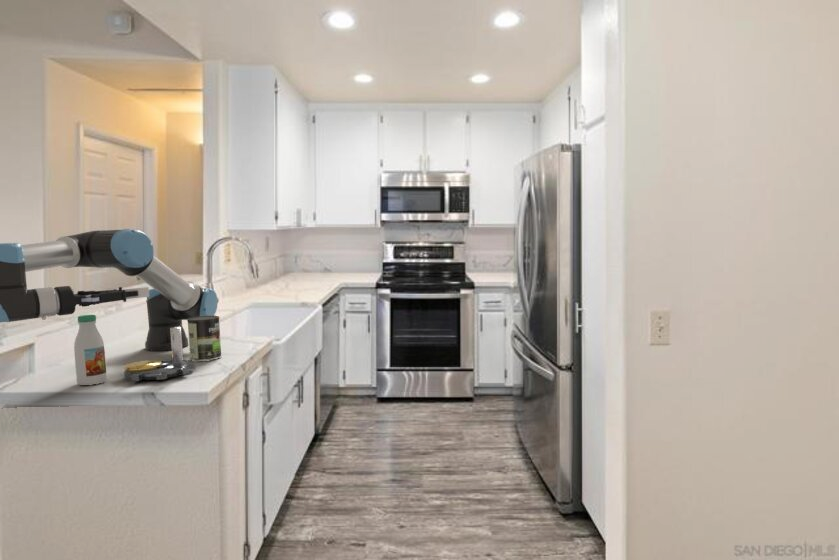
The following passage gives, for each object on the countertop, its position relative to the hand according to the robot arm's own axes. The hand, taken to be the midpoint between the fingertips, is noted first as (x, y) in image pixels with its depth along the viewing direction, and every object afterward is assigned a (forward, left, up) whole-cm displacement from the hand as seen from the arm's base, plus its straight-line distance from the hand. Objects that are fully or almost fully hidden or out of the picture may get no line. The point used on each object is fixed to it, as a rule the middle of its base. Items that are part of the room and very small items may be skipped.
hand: (147, 291), depth 171 cm
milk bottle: (+7, -17, -27) cm, 33 cm away
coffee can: (-29, -8, -27) cm, 40 cm away
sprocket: (-6, -4, -26) cm, 27 cm away
